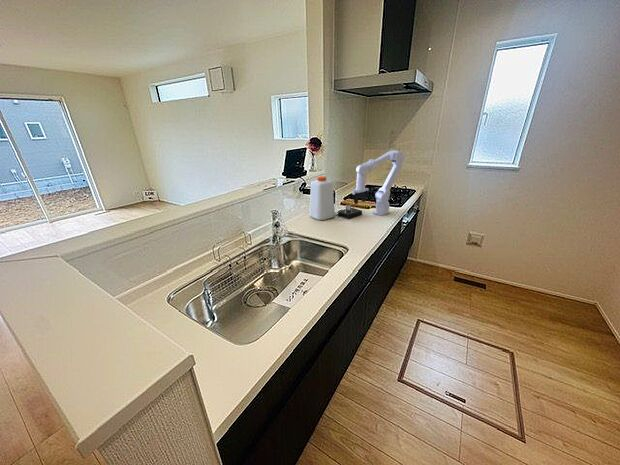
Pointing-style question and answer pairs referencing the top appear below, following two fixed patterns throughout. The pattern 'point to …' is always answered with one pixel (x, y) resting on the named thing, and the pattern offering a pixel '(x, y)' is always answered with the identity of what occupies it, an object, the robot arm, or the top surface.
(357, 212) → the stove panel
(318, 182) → the plastic bottle
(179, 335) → the top surface
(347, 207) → the knob
